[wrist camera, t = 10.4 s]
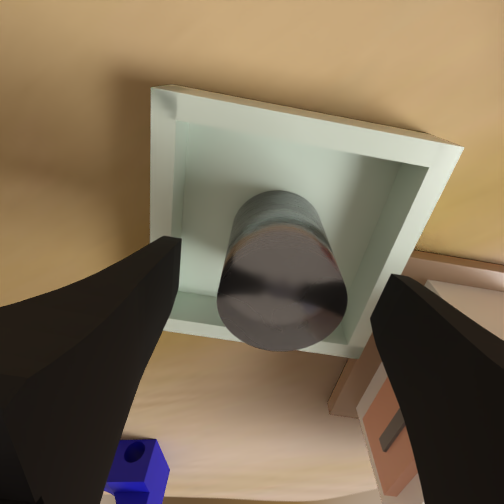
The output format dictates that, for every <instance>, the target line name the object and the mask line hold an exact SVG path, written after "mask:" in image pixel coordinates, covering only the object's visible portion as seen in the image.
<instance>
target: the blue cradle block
mask: <svg viewBox="0 0 504 504" xmlns="http://www.w3.org/2000/svg"><path fill="white" fill-rule="evenodd" d="M169 471H170V469H169V467H168V465H167V462H166V460H165V458H164V455H163V453H162V451H161V449H160V446H159V444H158V442H157V439H143V440H120V441H119V444H118V447H117V450H116V453H115V457H114V460H113V463H112V466H111V469H110V472H109V476H108V479H107V482H106V485H105V488H104V491H106V492H109V493H111V494H112V495H114V496H115V500H116V504H162V501H163V497H164V493H165V488H166V484H167V480H168V476H169Z"/></svg>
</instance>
